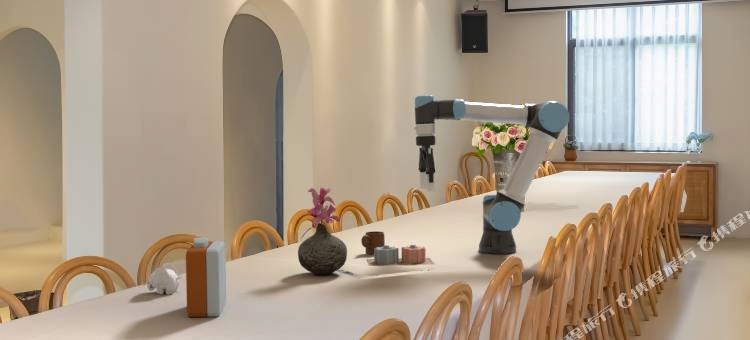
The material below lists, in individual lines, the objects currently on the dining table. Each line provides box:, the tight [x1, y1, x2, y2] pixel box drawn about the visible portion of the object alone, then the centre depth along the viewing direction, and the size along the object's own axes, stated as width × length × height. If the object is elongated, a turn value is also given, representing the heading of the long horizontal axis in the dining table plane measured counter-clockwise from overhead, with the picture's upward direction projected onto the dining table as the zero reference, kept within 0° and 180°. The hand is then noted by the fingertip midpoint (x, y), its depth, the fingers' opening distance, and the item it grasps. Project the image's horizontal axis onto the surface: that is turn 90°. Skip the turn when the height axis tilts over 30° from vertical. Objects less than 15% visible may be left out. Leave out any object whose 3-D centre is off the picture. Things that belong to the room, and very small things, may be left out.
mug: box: [361, 230, 386, 256], centre depth 312 cm, size 12×8×9 cm, turn 143°
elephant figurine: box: [142, 261, 182, 295], centre depth 247 cm, size 10×12×9 cm
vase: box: [297, 187, 348, 277], centre depth 275 cm, size 17×17×30 cm
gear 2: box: [401, 245, 426, 263], centre depth 294 cm, size 9×9×5 cm
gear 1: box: [373, 246, 400, 264], centre depth 293 cm, size 9×9×5 cm
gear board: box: [365, 244, 435, 267], centre depth 294 cm, size 24×14×7 cm, turn 95°
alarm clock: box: [185, 237, 227, 318], centre depth 222 cm, size 18×9×21 cm, turn 5°
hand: (427, 190), depth 308 cm, fingers open, 13 cm apart
